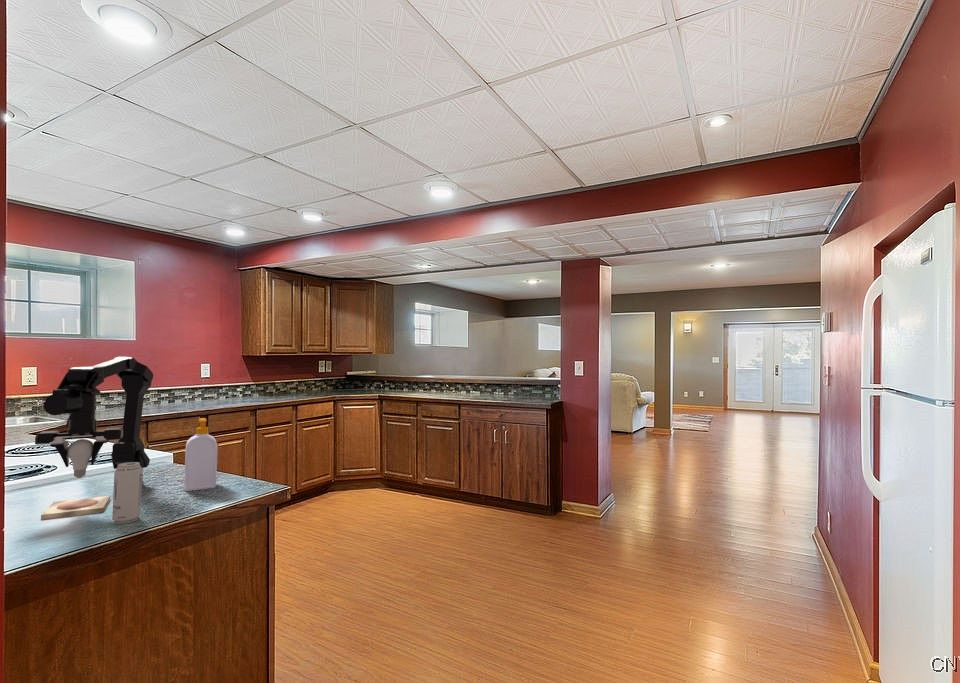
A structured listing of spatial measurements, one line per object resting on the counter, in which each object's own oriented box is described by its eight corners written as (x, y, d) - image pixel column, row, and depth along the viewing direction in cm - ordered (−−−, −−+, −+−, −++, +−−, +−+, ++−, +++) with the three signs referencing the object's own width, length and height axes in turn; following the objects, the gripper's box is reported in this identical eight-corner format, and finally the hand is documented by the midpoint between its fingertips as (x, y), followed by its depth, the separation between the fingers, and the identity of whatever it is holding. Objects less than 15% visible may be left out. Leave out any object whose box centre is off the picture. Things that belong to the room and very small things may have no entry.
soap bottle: (214, 483, 163) (217, 416, 164) (216, 487, 158) (218, 419, 158) (184, 486, 159) (186, 418, 159) (184, 491, 153) (187, 420, 154)
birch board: (110, 499, 143) (110, 495, 143) (102, 511, 132) (103, 507, 132) (53, 505, 136) (53, 501, 136) (40, 519, 125) (41, 514, 125)
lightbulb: (98, 476, 136) (100, 438, 137) (74, 481, 131) (76, 441, 131) (84, 474, 138) (86, 436, 139) (60, 479, 133) (62, 440, 133)
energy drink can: (110, 520, 125) (113, 463, 126) (138, 515, 130) (140, 460, 130) (113, 526, 121) (116, 467, 122) (142, 521, 125) (144, 464, 126)
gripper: (126, 406, 147) (124, 457, 146) (46, 409, 137) (44, 463, 137) (121, 410, 137) (119, 464, 137) (35, 413, 128) (33, 471, 127)
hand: (80, 465), depth 135 cm, fingers closed on lightbulb, 5 cm apart
